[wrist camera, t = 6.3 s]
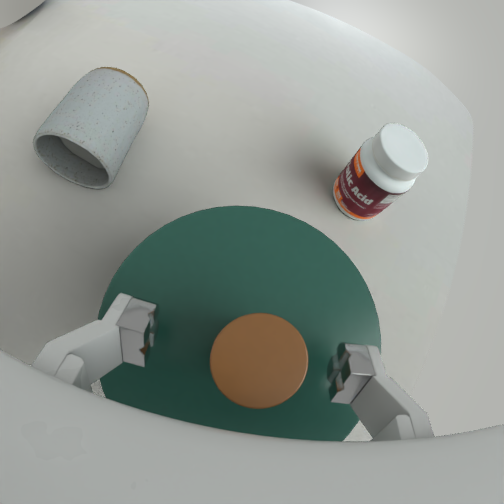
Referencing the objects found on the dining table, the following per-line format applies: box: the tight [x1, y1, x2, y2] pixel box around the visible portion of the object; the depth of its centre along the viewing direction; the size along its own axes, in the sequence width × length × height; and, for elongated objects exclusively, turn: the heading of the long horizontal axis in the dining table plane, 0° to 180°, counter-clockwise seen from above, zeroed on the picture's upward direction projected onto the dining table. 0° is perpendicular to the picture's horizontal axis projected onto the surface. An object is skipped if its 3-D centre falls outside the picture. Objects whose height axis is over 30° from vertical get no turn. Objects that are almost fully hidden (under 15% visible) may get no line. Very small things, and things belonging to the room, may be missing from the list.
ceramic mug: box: [33, 67, 149, 189], centre depth 20 cm, size 11×8×8 cm
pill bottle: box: [333, 123, 428, 221], centre depth 21 cm, size 5×5×8 cm
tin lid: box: [98, 206, 381, 441], centre depth 11 cm, size 13×13×6 cm
